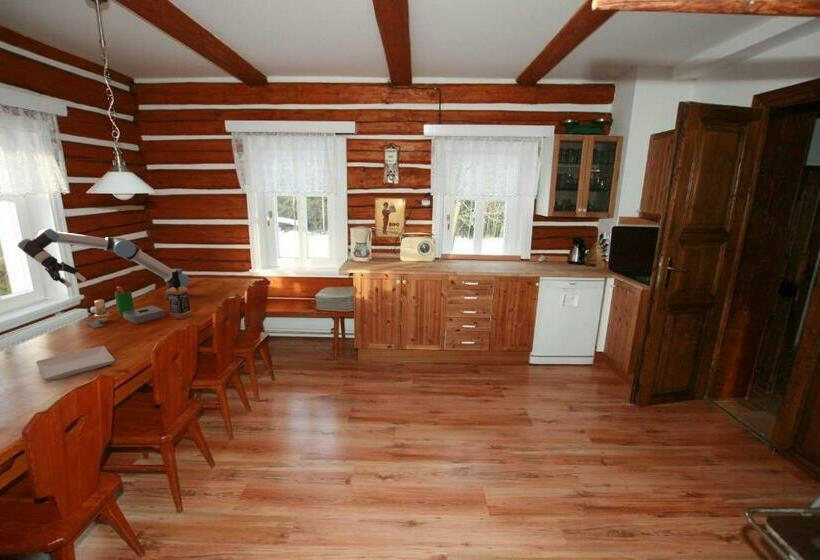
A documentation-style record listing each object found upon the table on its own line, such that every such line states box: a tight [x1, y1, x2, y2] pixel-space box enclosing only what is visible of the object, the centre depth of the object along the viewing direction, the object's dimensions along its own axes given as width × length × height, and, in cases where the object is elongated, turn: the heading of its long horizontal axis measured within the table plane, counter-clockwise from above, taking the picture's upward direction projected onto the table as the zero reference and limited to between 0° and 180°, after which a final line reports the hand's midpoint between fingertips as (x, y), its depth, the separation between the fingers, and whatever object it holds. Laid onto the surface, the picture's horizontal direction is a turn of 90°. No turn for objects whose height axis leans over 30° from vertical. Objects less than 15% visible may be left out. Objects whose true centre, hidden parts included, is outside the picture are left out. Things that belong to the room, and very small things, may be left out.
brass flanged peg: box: [93, 299, 110, 324], centre depth 250 cm, size 8×8×15 cm
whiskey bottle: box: [166, 272, 193, 321], centre depth 261 cm, size 10×10×32 cm
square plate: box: [35, 345, 116, 381], centre depth 194 cm, size 27×27×4 cm
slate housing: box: [122, 304, 166, 325], centre depth 260 cm, size 18×18×6 cm
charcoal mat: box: [86, 320, 109, 330], centre depth 252 cm, size 14×14×1 cm
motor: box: [114, 286, 135, 316], centre depth 270 cm, size 10×9×20 cm
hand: (77, 283), depth 246 cm, fingers open, 13 cm apart
